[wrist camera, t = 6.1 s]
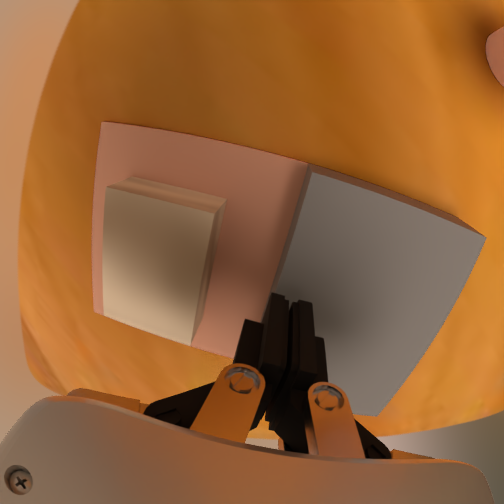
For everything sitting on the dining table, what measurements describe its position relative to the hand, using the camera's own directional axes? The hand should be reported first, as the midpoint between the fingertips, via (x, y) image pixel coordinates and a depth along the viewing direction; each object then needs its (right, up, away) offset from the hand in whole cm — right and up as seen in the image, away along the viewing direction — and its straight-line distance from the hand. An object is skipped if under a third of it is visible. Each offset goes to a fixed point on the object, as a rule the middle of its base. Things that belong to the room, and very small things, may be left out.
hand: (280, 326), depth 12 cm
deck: (+4, +1, +4) cm, 6 cm away
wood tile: (-6, +3, +2) cm, 7 cm away
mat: (-5, +3, +4) cm, 7 cm away
